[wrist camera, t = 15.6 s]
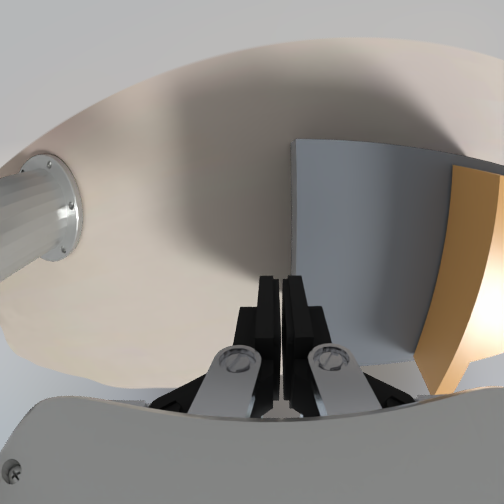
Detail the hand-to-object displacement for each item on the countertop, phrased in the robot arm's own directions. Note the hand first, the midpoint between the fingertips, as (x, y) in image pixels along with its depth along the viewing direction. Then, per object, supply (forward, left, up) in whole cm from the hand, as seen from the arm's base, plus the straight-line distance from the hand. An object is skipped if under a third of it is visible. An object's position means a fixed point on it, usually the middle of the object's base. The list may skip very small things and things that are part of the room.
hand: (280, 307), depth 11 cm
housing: (+10, 0, -13) cm, 16 cm away
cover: (+14, 0, -3) cm, 14 cm away
